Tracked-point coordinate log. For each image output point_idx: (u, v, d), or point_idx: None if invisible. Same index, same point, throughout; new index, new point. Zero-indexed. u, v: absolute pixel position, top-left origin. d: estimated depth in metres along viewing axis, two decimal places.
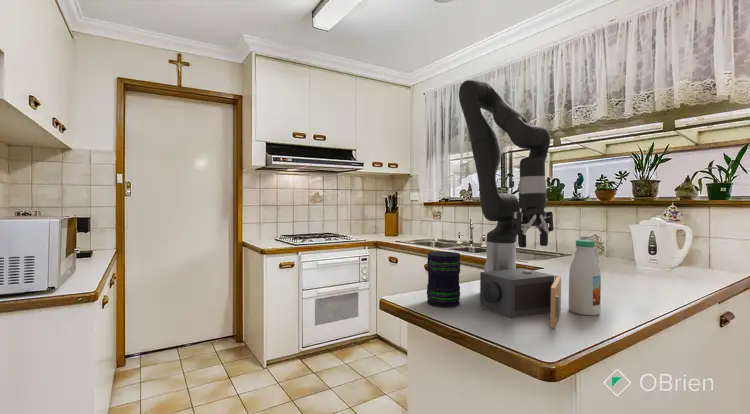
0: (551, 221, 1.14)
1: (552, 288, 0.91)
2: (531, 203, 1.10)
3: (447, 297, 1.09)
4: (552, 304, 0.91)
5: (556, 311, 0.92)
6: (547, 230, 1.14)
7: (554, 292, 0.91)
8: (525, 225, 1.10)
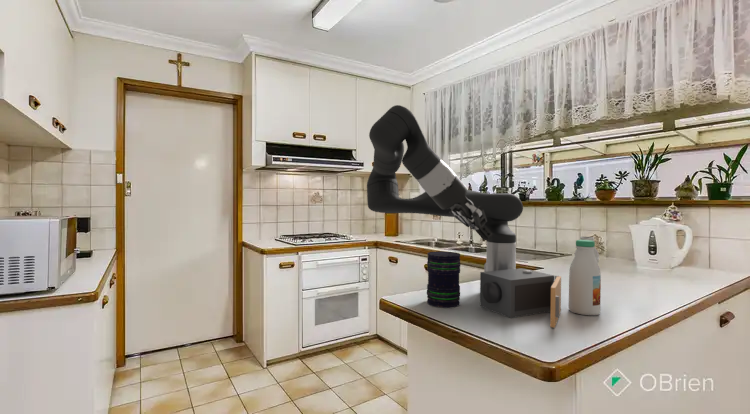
0: None
1: (552, 288, 0.91)
2: (463, 187, 0.83)
3: (447, 297, 1.09)
4: (552, 304, 0.91)
5: (556, 311, 0.92)
6: None
7: (554, 292, 0.91)
8: None
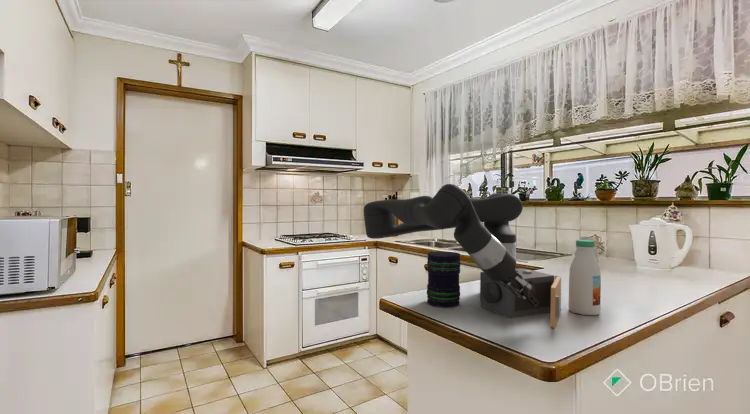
0: None
1: (552, 288, 0.91)
2: (513, 261, 0.87)
3: (447, 297, 1.09)
4: (552, 304, 0.91)
5: (556, 311, 0.92)
6: None
7: (554, 292, 0.91)
8: None
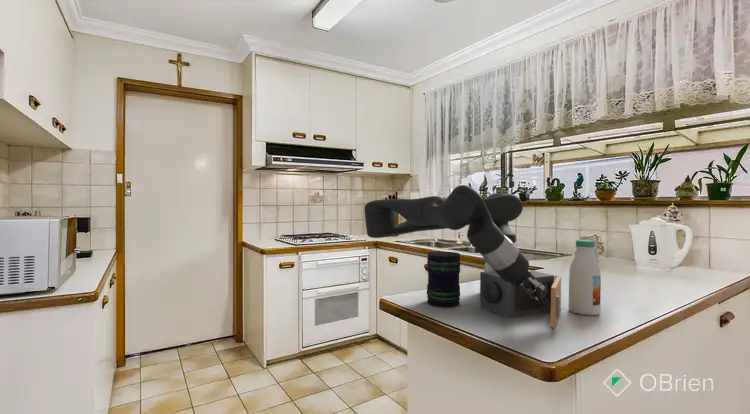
0: None
1: (552, 288, 0.91)
2: (526, 262, 0.87)
3: (447, 297, 1.09)
4: (552, 304, 0.91)
5: (556, 311, 0.92)
6: None
7: (554, 292, 0.91)
8: None
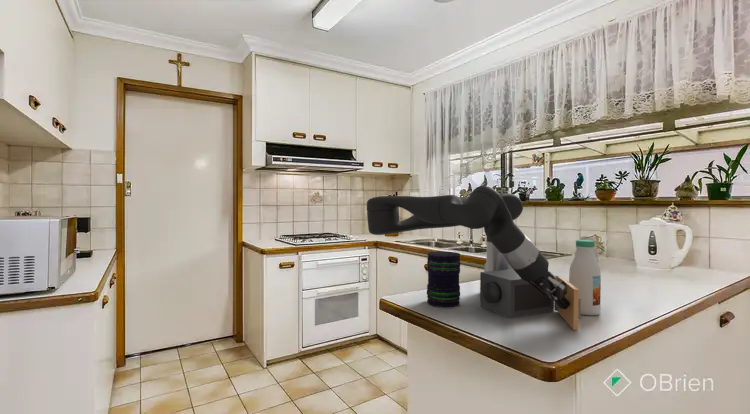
0: None
1: (575, 290, 0.89)
2: (546, 261, 0.89)
3: (447, 297, 1.09)
4: (575, 306, 0.89)
5: (578, 313, 0.90)
6: None
7: (577, 294, 0.89)
8: None
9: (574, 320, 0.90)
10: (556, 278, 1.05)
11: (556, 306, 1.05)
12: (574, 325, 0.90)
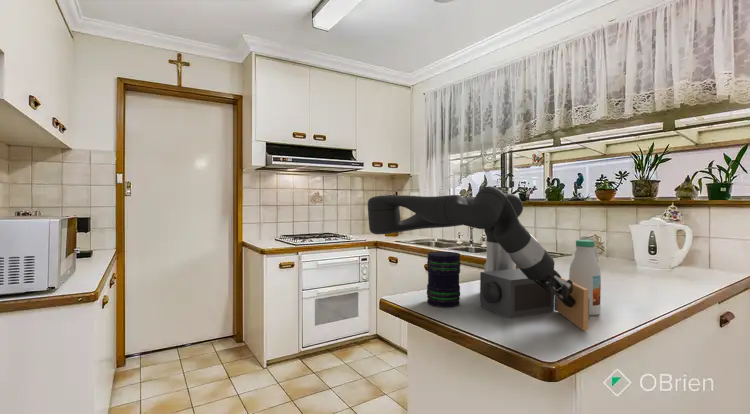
0: None
1: (585, 290, 0.89)
2: (552, 260, 0.89)
3: (447, 297, 1.09)
4: (585, 306, 0.89)
5: None
6: None
7: (587, 294, 0.89)
8: None
9: (584, 320, 0.89)
10: None
11: (556, 306, 1.05)
12: (584, 325, 0.89)
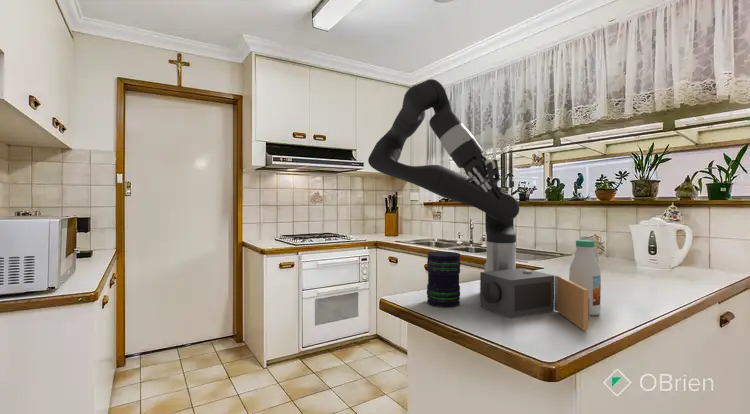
0: None
1: (585, 290, 0.89)
2: (480, 147, 0.96)
3: (447, 297, 1.09)
4: (585, 306, 0.89)
5: None
6: None
7: (587, 294, 0.89)
8: None
9: (584, 320, 0.89)
10: (556, 278, 1.05)
11: (556, 306, 1.05)
12: (584, 325, 0.89)
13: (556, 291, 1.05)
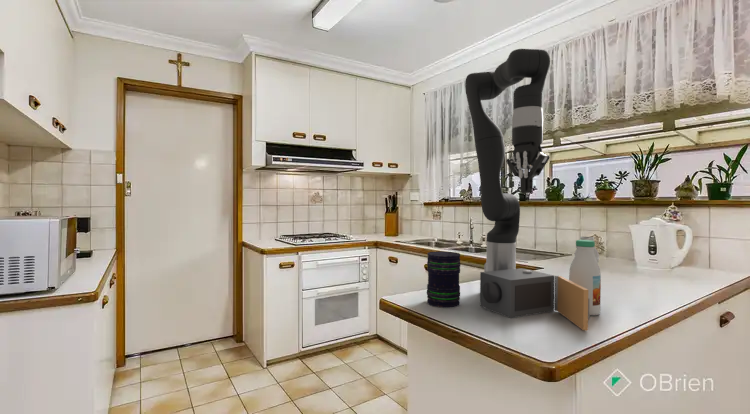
0: None
1: (585, 290, 0.89)
2: (542, 138, 0.98)
3: (447, 297, 1.09)
4: (585, 306, 0.89)
5: None
6: None
7: (587, 294, 0.89)
8: None
9: (584, 320, 0.89)
10: (556, 278, 1.05)
11: (556, 306, 1.05)
12: (584, 325, 0.89)
13: (556, 291, 1.05)
